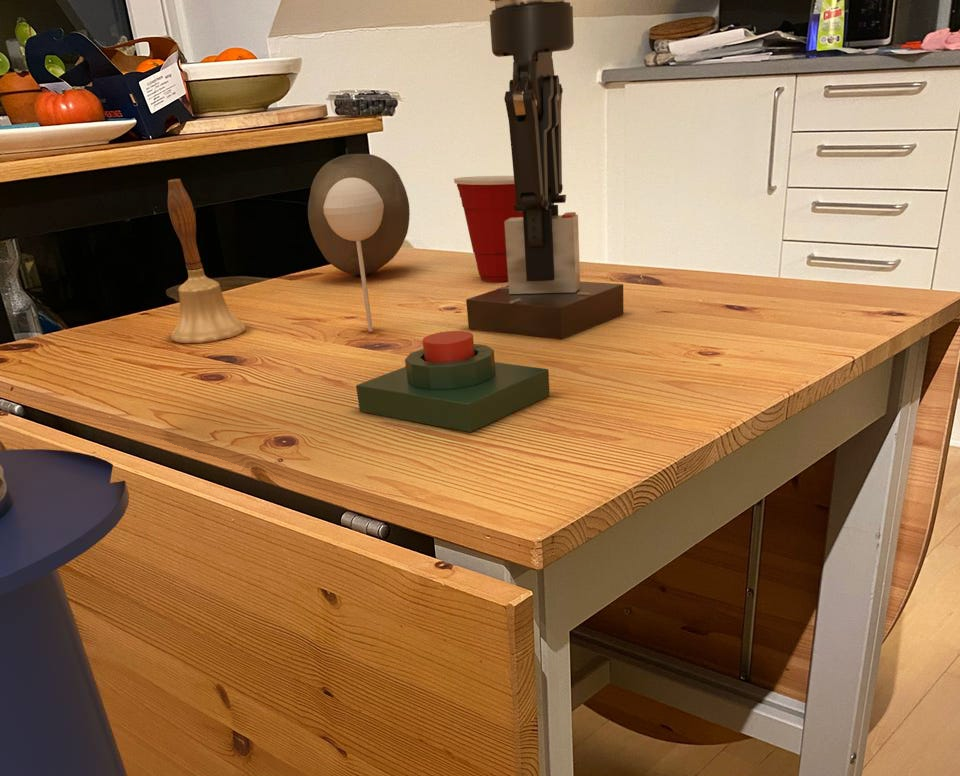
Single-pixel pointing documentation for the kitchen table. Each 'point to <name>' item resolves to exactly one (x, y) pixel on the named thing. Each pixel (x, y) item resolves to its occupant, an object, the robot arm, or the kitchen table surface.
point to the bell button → (448, 346)
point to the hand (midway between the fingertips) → (543, 276)
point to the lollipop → (355, 218)
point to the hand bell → (197, 282)
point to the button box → (454, 390)
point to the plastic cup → (488, 221)
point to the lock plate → (545, 310)
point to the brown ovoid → (393, 220)
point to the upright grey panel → (562, 252)
